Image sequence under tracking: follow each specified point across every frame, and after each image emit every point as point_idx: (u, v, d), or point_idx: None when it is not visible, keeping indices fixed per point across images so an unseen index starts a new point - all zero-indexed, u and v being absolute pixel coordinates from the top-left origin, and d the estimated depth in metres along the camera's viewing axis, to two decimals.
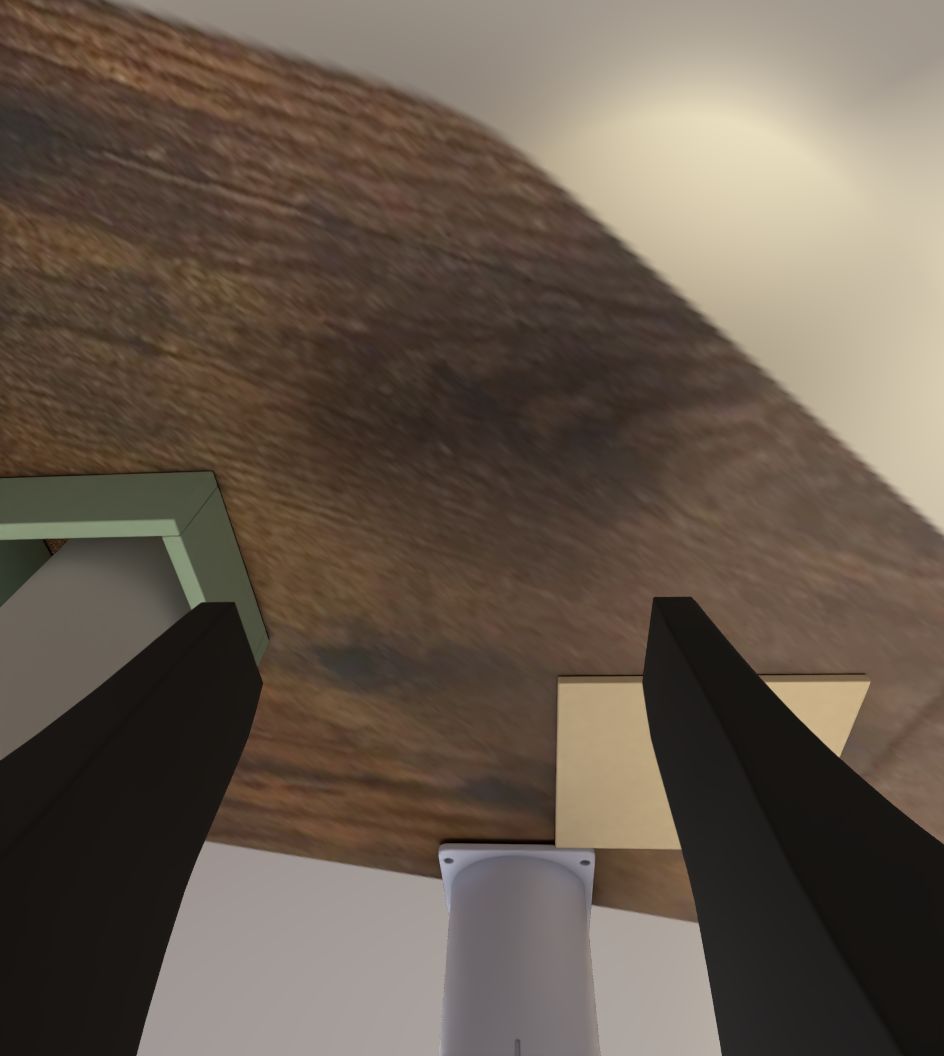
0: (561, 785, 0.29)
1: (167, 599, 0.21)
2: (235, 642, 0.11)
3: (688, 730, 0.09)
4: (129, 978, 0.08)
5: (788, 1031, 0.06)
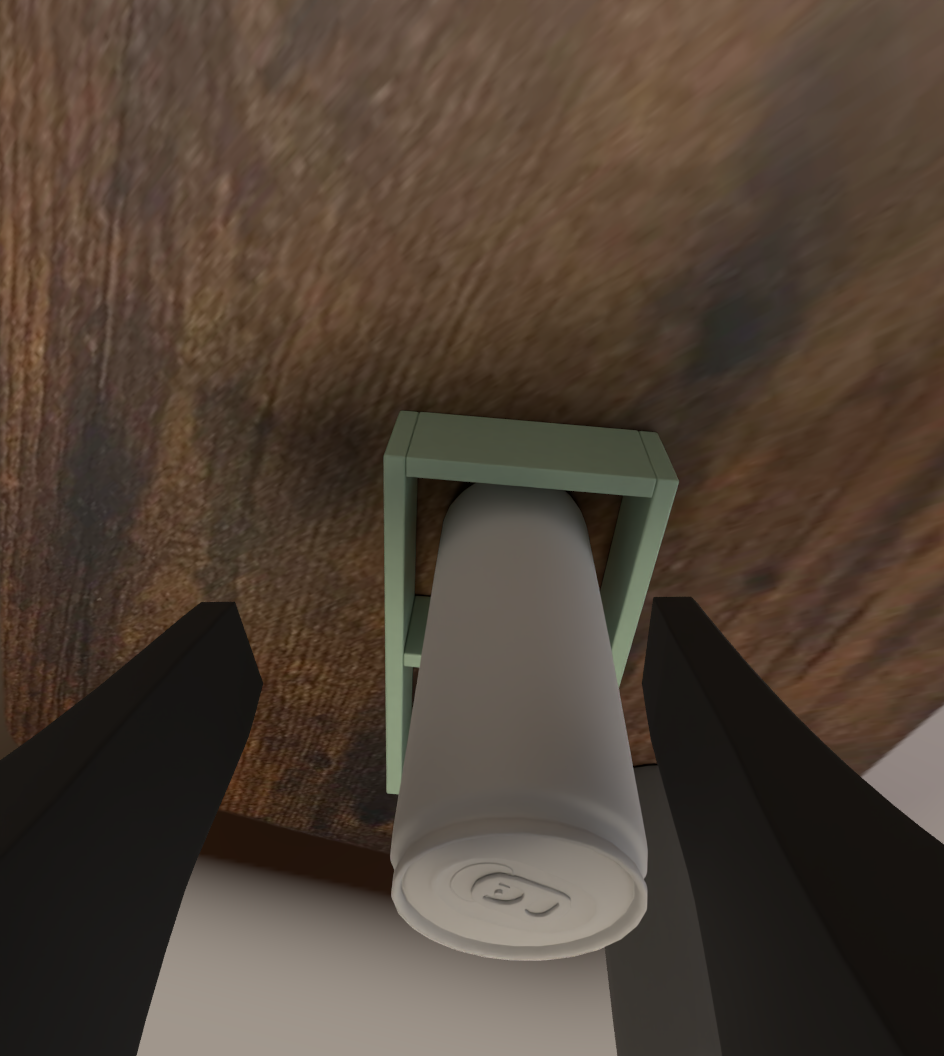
0: None
1: (506, 508, 0.18)
2: (234, 642, 0.11)
3: (688, 730, 0.09)
4: (129, 978, 0.08)
5: (788, 1031, 0.06)
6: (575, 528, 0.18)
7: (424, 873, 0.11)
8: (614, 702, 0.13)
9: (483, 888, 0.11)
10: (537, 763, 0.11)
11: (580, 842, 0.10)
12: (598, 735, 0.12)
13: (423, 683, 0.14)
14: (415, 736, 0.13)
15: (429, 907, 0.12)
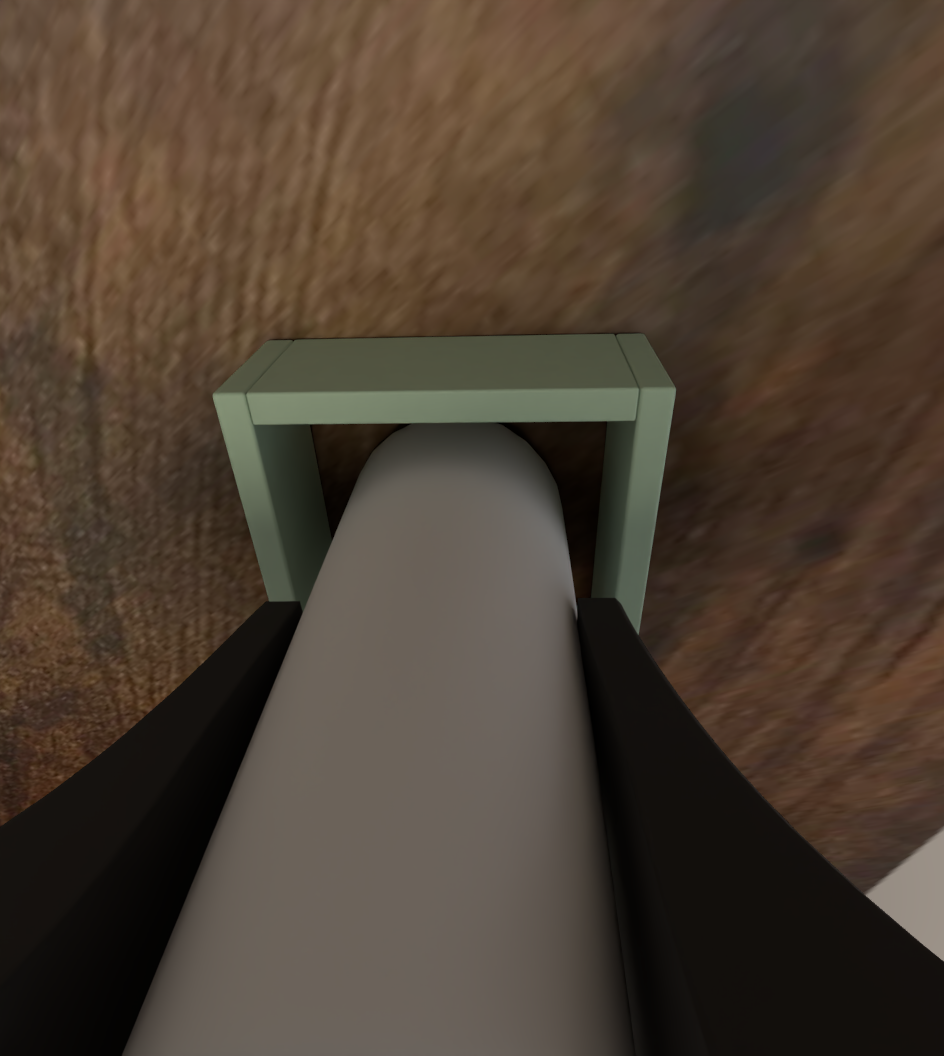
0: None
1: (419, 461, 0.12)
2: None
3: (599, 730, 0.09)
4: None
5: (652, 1026, 0.06)
6: (529, 484, 0.12)
7: None
8: (573, 774, 0.07)
9: None
10: (363, 961, 0.05)
11: None
12: (524, 863, 0.06)
13: (244, 756, 0.08)
14: (198, 868, 0.07)
15: None
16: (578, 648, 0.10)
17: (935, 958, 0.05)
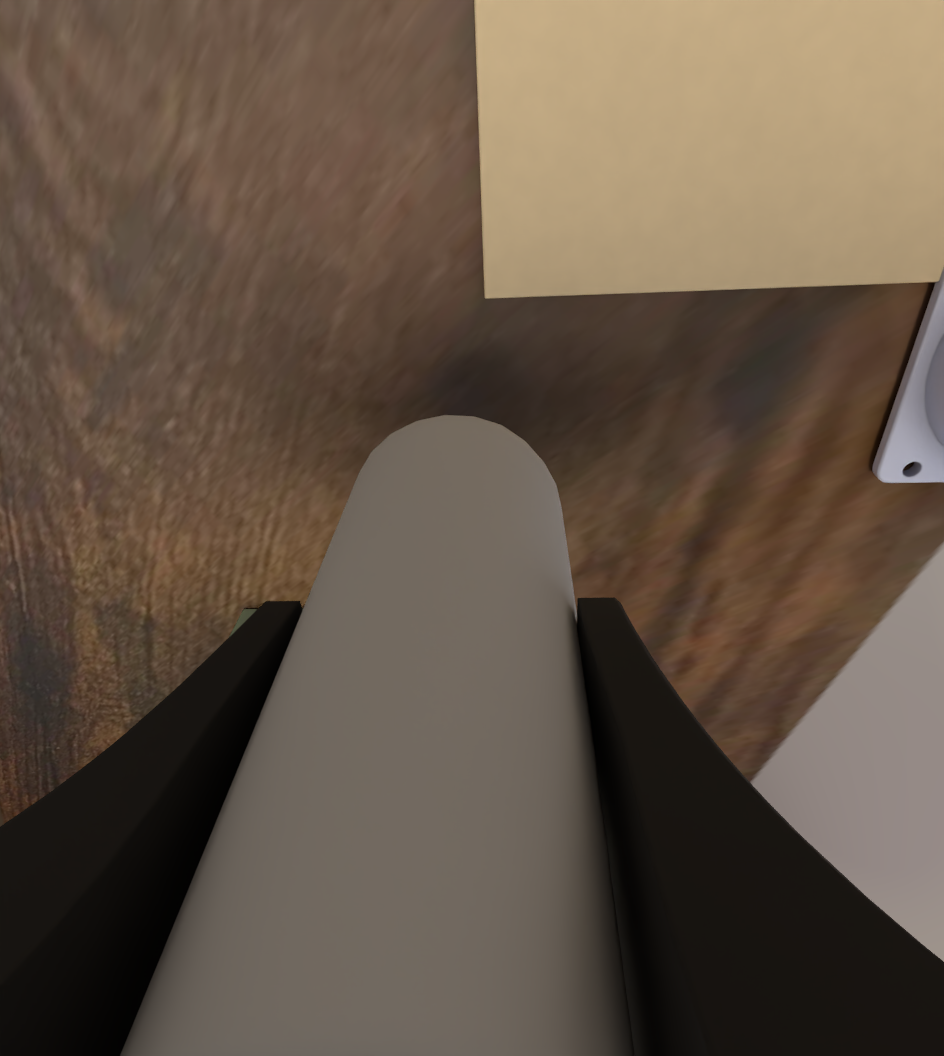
0: (736, 281, 0.17)
1: (418, 461, 0.12)
2: None
3: (599, 730, 0.09)
4: None
5: (652, 1026, 0.06)
6: (528, 484, 0.12)
7: None
8: (572, 775, 0.07)
9: None
10: (361, 964, 0.05)
11: None
12: (523, 864, 0.06)
13: (242, 757, 0.08)
14: (197, 869, 0.07)
15: None
16: (577, 648, 0.10)
17: (934, 958, 0.05)
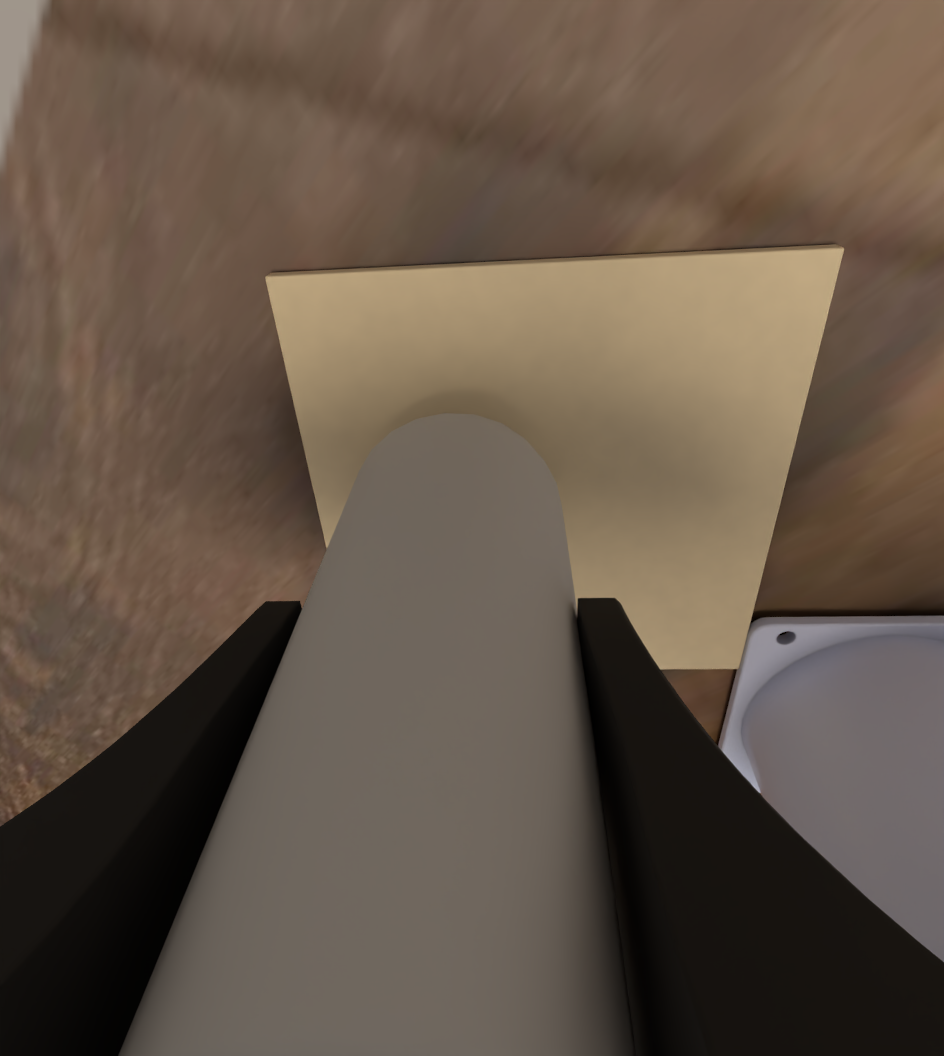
0: None
1: (418, 459, 0.12)
2: None
3: (598, 730, 0.09)
4: None
5: (652, 1026, 0.06)
6: (528, 482, 0.12)
7: None
8: (573, 772, 0.07)
9: None
10: (361, 960, 0.05)
11: None
12: (523, 861, 0.06)
13: (242, 755, 0.08)
14: (196, 867, 0.07)
15: None
16: (578, 646, 0.10)
17: (935, 957, 0.05)
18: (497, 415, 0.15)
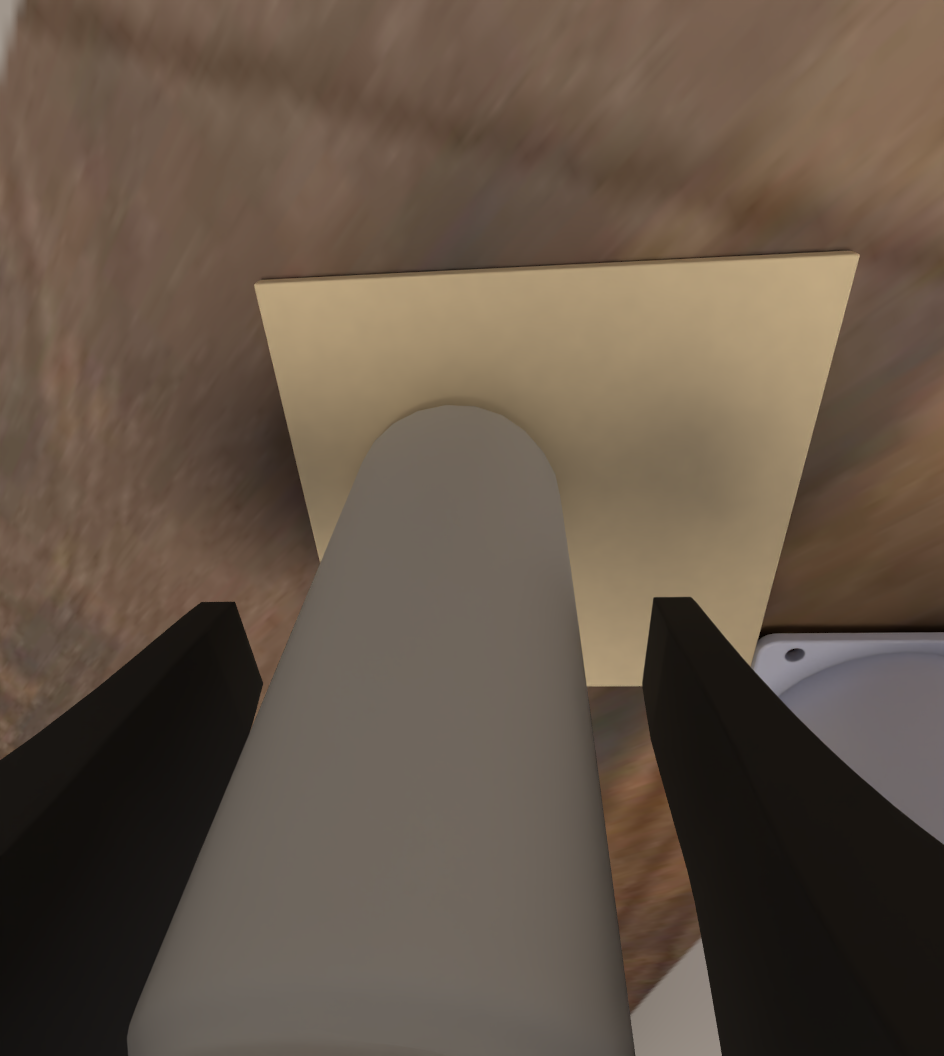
0: None
1: (420, 449, 0.12)
2: (234, 642, 0.11)
3: (688, 730, 0.09)
4: (129, 978, 0.08)
5: (788, 1031, 0.06)
6: (527, 471, 0.12)
7: None
8: (569, 741, 0.07)
9: None
10: (369, 903, 0.05)
11: None
12: (521, 818, 0.06)
13: (252, 727, 0.08)
14: None
15: None
16: (575, 627, 0.10)
17: None
18: None
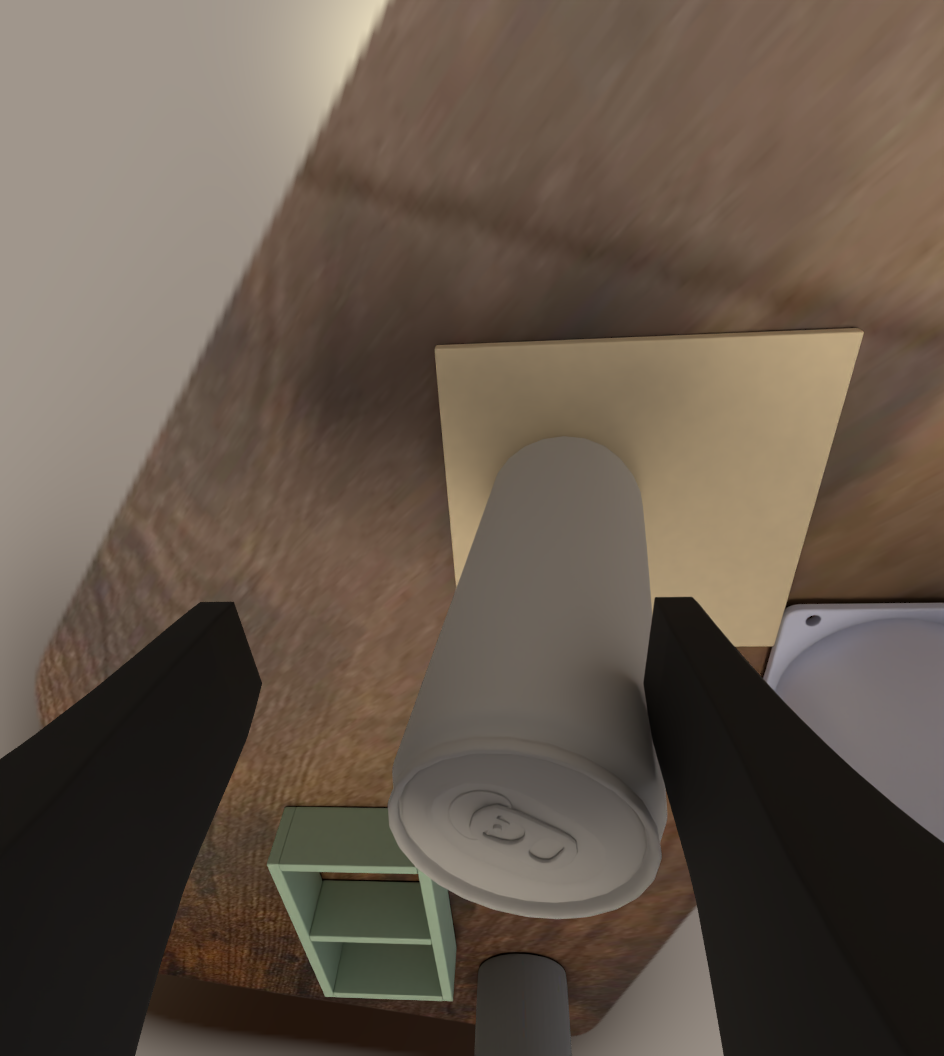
0: None
1: (546, 466, 0.17)
2: (233, 642, 0.11)
3: (690, 730, 0.09)
4: (128, 978, 0.08)
5: (791, 1031, 0.06)
6: (621, 487, 0.17)
7: (420, 801, 0.11)
8: (640, 646, 0.12)
9: (481, 822, 0.11)
10: (534, 686, 0.10)
11: (571, 764, 0.09)
12: (612, 669, 0.11)
13: (443, 626, 0.14)
14: (426, 672, 0.12)
15: (431, 844, 0.11)
16: (648, 591, 0.15)
17: None
18: None
